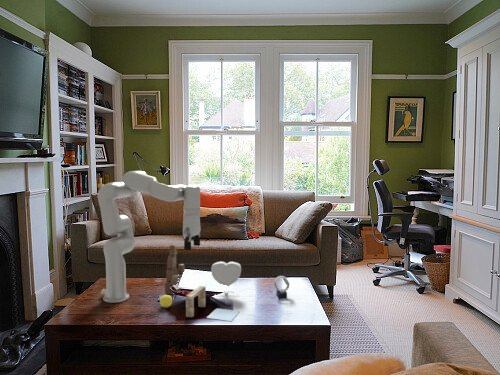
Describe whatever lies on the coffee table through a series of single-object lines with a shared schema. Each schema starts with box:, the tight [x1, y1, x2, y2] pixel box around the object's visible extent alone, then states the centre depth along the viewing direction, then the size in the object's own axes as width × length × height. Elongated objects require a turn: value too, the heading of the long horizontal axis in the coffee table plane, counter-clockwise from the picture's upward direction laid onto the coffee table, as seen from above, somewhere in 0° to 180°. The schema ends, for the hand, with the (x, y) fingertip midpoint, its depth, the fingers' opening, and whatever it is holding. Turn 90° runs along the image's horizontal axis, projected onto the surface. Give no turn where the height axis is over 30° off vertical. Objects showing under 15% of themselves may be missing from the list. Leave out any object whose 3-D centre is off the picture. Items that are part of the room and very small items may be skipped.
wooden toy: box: [164, 244, 185, 295], centre depth 219 cm, size 16×7×25 cm, turn 173°
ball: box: [159, 294, 173, 308], centre depth 194 cm, size 6×6×6 cm
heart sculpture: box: [210, 261, 242, 299], centre depth 210 cm, size 16×5×18 cm, turn 88°
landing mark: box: [206, 307, 241, 322], centre depth 185 cm, size 12×12×1 cm
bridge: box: [185, 285, 207, 318], centre depth 189 cm, size 3×15×10 cm, turn 162°
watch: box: [273, 275, 290, 300], centre depth 209 cm, size 6×8×11 cm
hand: (192, 247), depth 190 cm, fingers open, 9 cm apart
